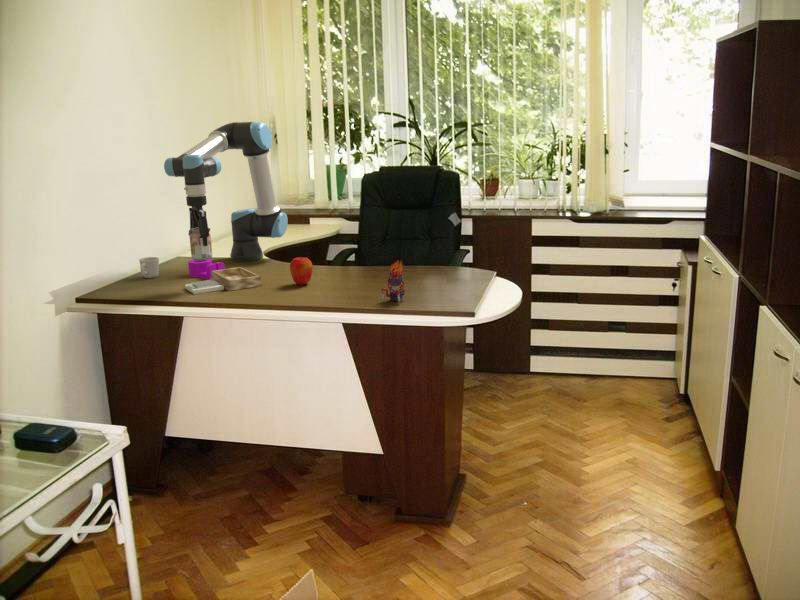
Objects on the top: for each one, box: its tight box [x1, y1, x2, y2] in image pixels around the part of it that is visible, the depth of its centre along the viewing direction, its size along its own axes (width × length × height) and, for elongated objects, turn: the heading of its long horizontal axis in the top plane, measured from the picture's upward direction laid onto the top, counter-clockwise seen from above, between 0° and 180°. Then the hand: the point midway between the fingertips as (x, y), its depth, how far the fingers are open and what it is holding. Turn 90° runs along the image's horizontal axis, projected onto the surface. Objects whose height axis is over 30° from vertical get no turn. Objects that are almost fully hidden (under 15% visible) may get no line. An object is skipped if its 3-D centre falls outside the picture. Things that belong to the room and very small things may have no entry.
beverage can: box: [188, 227, 213, 260], centre depth 311 cm, size 9×8×12 cm
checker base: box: [184, 281, 225, 295], centre depth 315 cm, size 12×12×2 cm
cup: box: [139, 256, 160, 279], centre depth 337 cm, size 11×8×8 cm
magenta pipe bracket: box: [187, 258, 226, 280], centre depth 339 cm, size 16×10×6 cm, turn 53°
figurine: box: [378, 259, 406, 302], centre depth 287 cm, size 8×9×15 cm
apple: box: [289, 255, 314, 286], centre depth 317 cm, size 9×9×12 cm
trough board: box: [210, 266, 263, 292], centre depth 323 cm, size 14×22×4 cm, turn 31°
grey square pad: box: [190, 279, 217, 289], centre depth 315 cm, size 8×8×1 cm
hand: (201, 251), depth 312 cm, fingers closed on beverage can, 9 cm apart
